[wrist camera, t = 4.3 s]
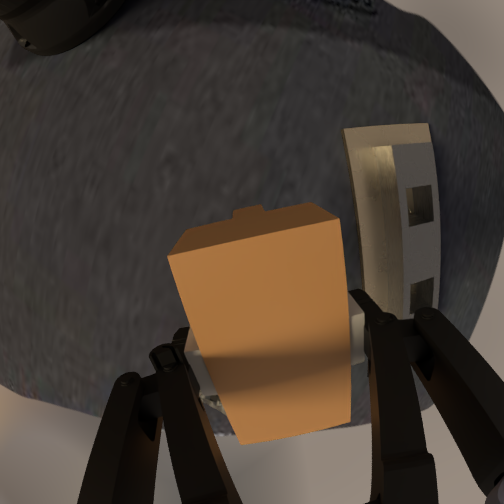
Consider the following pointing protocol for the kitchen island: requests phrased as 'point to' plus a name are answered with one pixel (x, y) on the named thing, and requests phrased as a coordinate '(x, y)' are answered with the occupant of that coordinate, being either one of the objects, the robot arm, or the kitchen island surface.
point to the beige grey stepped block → (396, 214)
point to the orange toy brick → (270, 317)
